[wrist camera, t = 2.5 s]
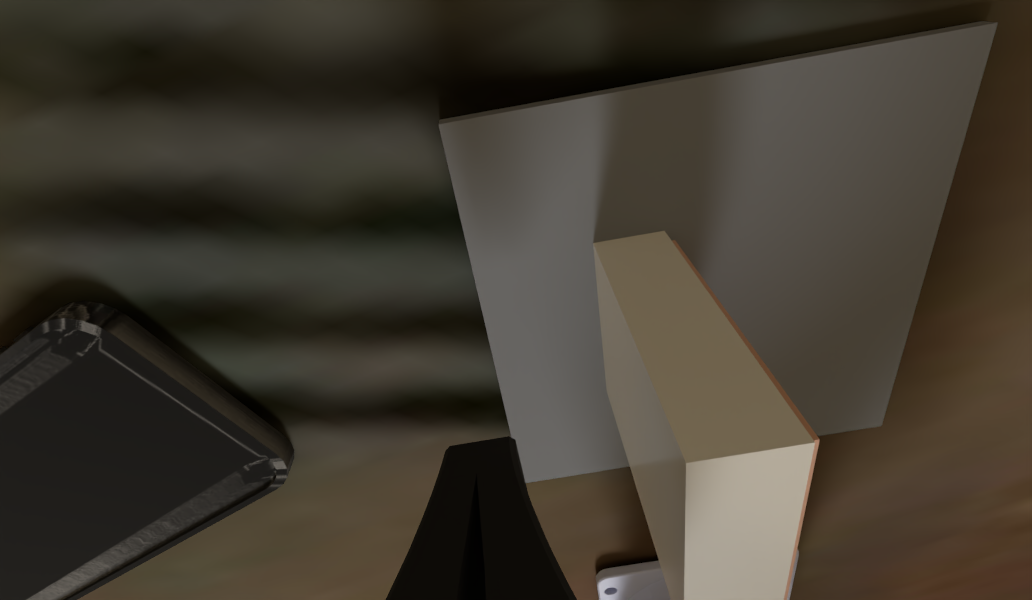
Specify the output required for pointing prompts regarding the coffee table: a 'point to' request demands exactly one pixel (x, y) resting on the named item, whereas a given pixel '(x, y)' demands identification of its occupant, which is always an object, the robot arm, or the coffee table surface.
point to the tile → (701, 426)
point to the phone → (115, 453)
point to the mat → (718, 223)
